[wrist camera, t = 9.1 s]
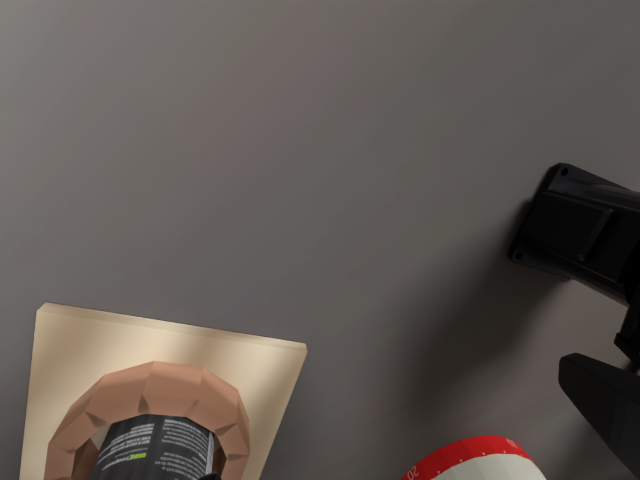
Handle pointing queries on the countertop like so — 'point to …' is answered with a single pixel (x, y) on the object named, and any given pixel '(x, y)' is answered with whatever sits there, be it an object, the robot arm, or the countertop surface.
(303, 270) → the countertop surface
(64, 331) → the collar stand
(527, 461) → the kitchen timer
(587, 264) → the robot arm
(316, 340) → the countertop surface
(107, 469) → the supplement bottle
